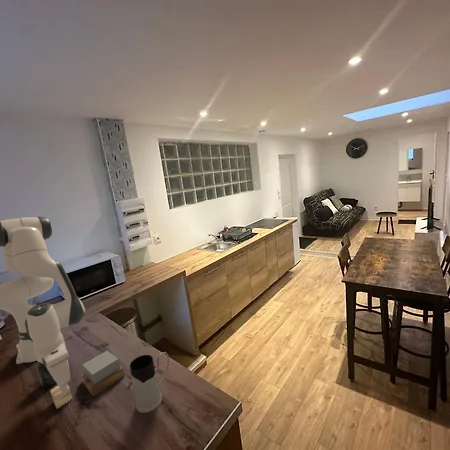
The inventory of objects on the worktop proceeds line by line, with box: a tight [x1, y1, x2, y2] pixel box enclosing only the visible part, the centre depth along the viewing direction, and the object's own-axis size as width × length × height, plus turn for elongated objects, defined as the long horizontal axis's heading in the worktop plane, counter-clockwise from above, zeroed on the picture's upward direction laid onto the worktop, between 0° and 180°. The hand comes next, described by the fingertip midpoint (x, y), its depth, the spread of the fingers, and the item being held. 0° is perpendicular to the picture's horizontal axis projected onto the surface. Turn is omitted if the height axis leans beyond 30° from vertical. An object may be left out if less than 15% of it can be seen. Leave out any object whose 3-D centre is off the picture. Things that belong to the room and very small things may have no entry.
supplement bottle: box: [36, 361, 57, 388], centre depth 104 cm, size 7×7×12 cm
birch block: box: [49, 383, 73, 410], centre depth 94 cm, size 5×5×5 cm
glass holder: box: [129, 351, 170, 413], centre depth 89 cm, size 9×14×15 cm, turn 135°
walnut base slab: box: [80, 365, 126, 397], centre depth 102 cm, size 12×12×4 cm
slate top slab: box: [81, 350, 121, 384], centre depth 102 cm, size 10×10×4 cm
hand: (60, 384), depth 93 cm, fingers open, 8 cm apart
